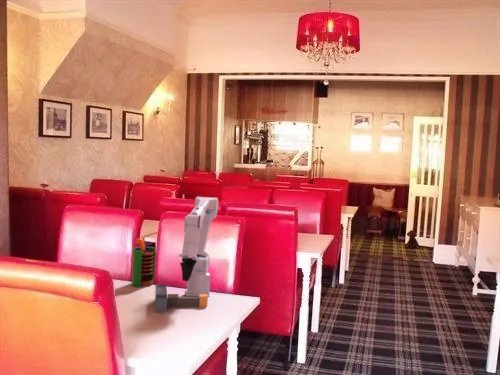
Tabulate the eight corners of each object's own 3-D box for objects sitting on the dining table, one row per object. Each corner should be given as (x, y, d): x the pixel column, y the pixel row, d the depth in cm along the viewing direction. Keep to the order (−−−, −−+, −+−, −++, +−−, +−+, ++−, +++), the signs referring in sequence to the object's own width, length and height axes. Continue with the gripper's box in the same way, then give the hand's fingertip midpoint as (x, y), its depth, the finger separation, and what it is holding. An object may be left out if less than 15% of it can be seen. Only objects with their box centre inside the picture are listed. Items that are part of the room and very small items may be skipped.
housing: (165, 300, 190) (166, 284, 190) (166, 312, 177) (167, 295, 176) (155, 300, 190) (155, 284, 189) (155, 312, 176) (156, 295, 175)
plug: (206, 303, 189) (206, 293, 188) (207, 307, 184) (207, 297, 184) (165, 304, 186) (165, 294, 185) (165, 308, 181) (166, 297, 181)
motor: (147, 288, 205) (148, 242, 203) (127, 286, 207) (128, 240, 205) (156, 282, 215) (157, 238, 213) (137, 280, 217) (139, 236, 215)
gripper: (179, 246, 193) (174, 280, 189) (181, 239, 179) (176, 276, 175) (196, 248, 194) (192, 282, 190) (200, 242, 181) (196, 278, 176)
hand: (186, 279), depth 182 cm, fingers open, 7 cm apart
